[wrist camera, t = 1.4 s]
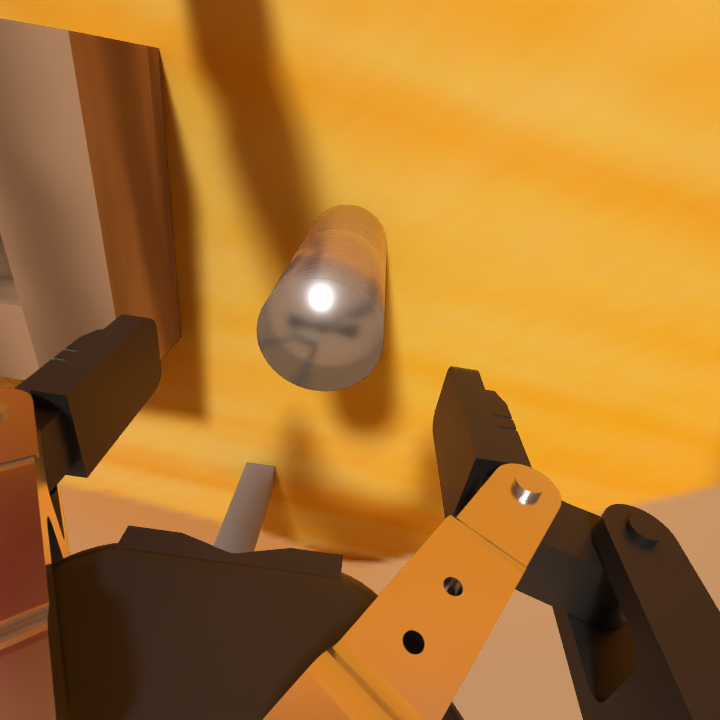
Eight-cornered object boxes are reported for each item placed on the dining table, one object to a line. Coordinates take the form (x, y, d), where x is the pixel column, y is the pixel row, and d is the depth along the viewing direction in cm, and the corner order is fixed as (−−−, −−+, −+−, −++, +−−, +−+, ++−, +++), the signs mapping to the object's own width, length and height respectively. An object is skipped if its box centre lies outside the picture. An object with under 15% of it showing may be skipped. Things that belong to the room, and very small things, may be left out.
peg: (393, 212, 21) (394, 290, 13) (379, 288, 23) (372, 399, 15) (312, 198, 21) (258, 268, 13) (305, 276, 23) (255, 381, 15)
